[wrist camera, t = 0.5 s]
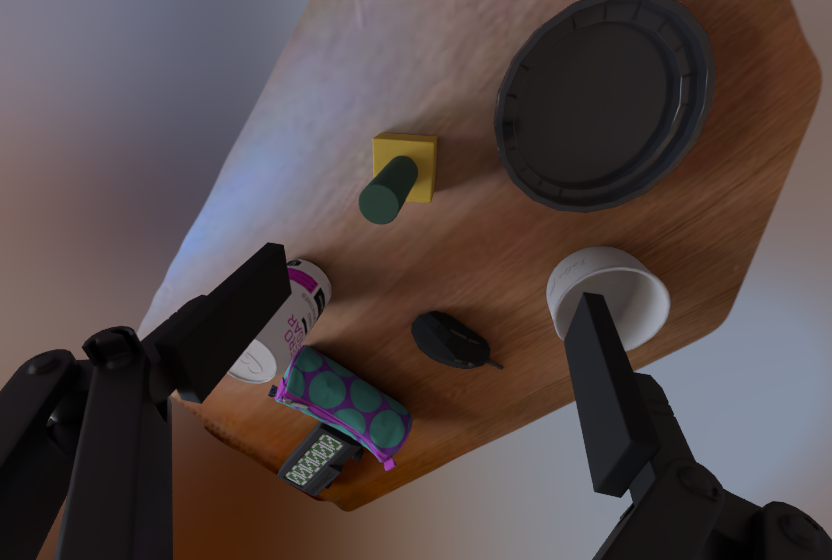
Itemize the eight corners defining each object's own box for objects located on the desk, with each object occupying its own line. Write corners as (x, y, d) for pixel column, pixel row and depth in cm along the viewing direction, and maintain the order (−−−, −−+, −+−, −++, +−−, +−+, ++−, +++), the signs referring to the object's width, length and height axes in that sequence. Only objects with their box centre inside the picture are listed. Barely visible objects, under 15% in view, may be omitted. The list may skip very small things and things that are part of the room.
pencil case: (286, 363, 58) (255, 412, 50) (310, 331, 54) (279, 379, 46) (392, 425, 62) (378, 479, 54) (421, 400, 58) (412, 455, 50)
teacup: (557, 227, 40) (573, 260, 33) (658, 242, 39) (696, 280, 32) (525, 324, 47) (533, 368, 41) (609, 339, 46) (631, 386, 40)
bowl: (510, -6, 30) (514, -13, 27) (731, -1, 29) (760, -9, 26) (483, 193, 39) (483, 204, 36) (649, 207, 37) (664, 219, 34)
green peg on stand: (381, 132, 38) (337, 162, 26) (437, 136, 37) (418, 168, 26) (381, 188, 41) (343, 237, 29) (434, 193, 40) (415, 244, 29)
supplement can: (264, 268, 49) (189, 340, 36) (311, 247, 46) (247, 317, 34) (298, 313, 52) (240, 394, 40) (344, 296, 50) (298, 377, 37)
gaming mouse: (488, 379, 53) (489, 401, 50) (404, 329, 51) (398, 348, 47) (516, 355, 50) (519, 376, 47) (428, 300, 48) (424, 318, 44)
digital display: (318, 501, 73) (274, 478, 72) (324, 485, 76) (282, 463, 74) (368, 457, 62) (318, 429, 61) (373, 440, 65) (325, 413, 64)
